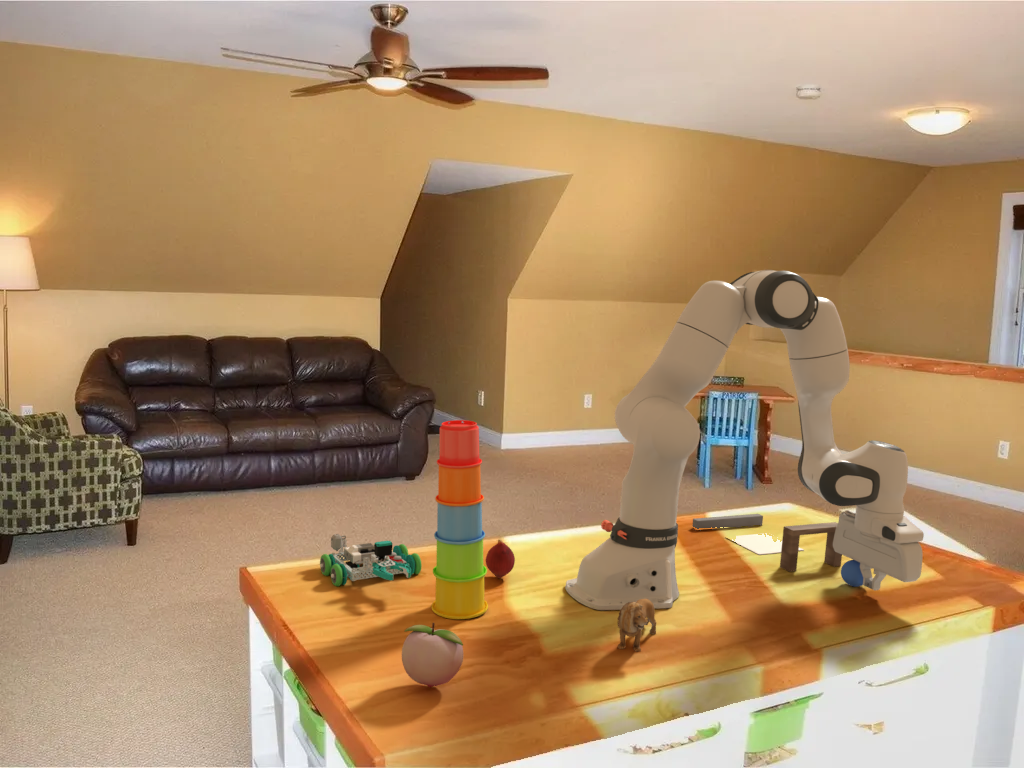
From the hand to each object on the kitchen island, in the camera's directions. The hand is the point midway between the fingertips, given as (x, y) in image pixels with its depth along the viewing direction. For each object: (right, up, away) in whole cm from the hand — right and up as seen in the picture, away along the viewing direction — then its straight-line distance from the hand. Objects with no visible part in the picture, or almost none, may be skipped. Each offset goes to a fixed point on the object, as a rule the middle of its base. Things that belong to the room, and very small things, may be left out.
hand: (871, 587), depth 176 cm
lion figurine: (-52, -3, -29) cm, 59 cm away
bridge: (-7, +1, +16) cm, 18 cm away
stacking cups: (-82, 0, -18) cm, 84 cm away
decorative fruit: (-85, -4, -48) cm, 98 cm away
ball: (-1, +2, +5) cm, 5 cm away
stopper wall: (-18, +5, +44) cm, 48 cm away
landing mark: (-13, +3, +31) cm, 34 cm away
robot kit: (-99, +2, -6) cm, 99 cm away
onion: (-75, +2, -1) cm, 75 cm away
